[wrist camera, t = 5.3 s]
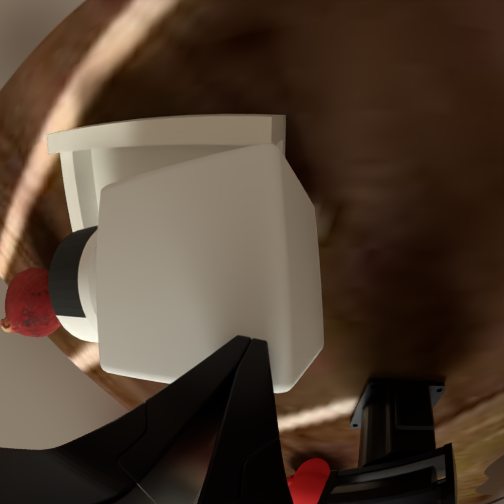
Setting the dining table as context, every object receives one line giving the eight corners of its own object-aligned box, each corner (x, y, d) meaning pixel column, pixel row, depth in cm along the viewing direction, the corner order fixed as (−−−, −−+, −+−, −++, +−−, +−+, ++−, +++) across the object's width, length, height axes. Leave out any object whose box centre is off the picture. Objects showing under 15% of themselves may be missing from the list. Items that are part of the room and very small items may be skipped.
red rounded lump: (77, 259, 23) (9, 312, 16) (91, 314, 25) (37, 369, 18) (38, 247, 24) (-24, 290, 17) (52, 298, 26) (1, 344, 20)
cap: (344, 504, 26) (350, 516, 21) (296, 516, 26) (293, 529, 21) (331, 450, 31) (334, 453, 26) (283, 462, 31) (278, 467, 26)
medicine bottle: (315, 203, 15) (126, 233, 19) (276, 136, 8) (37, 208, 12) (324, 350, 14) (128, 343, 18) (291, 396, 7) (35, 355, 11)
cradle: (276, 307, 19) (263, 345, 16) (107, 275, 22) (79, 299, 19) (285, 115, 14) (271, 116, 11) (84, 126, 17) (46, 134, 14)
